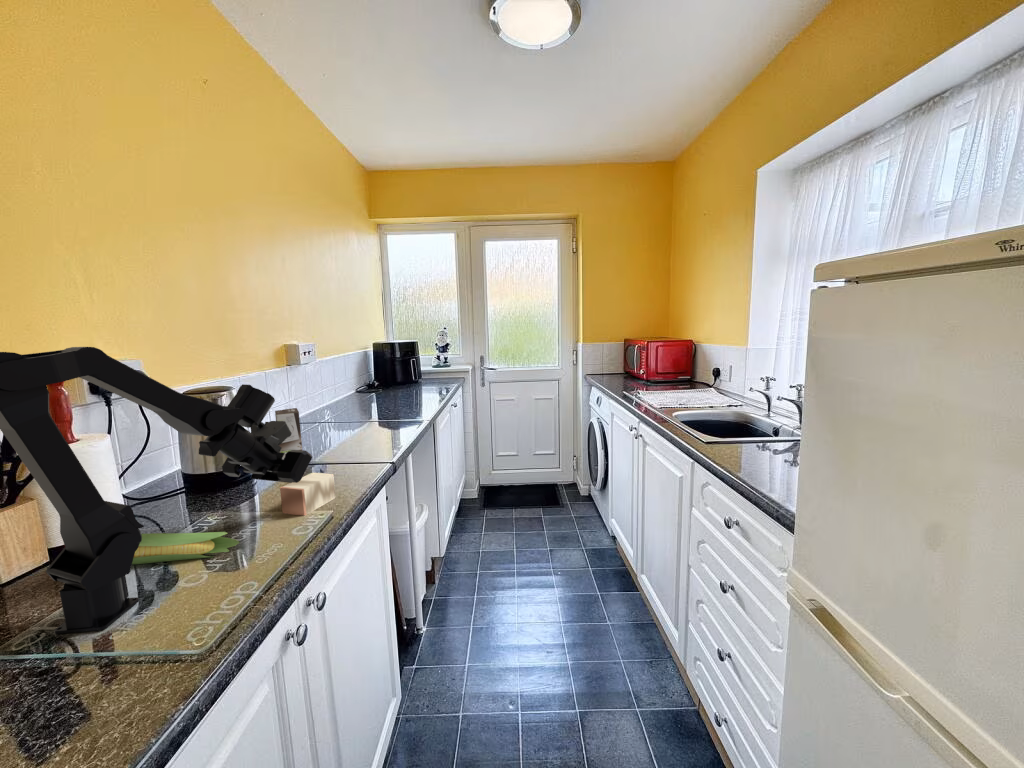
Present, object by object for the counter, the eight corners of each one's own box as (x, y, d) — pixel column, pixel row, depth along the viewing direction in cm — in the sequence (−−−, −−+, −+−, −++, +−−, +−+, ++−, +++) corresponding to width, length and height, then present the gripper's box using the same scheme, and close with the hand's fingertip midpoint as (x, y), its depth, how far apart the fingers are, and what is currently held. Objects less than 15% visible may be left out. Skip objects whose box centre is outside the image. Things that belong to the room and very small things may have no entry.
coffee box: (304, 462, 130) (299, 411, 128) (280, 466, 127) (275, 414, 125) (302, 455, 138) (297, 407, 136) (279, 459, 135) (274, 409, 133)
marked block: (301, 489, 92) (333, 474, 101) (279, 487, 93) (312, 472, 103) (304, 515, 92) (335, 497, 102) (282, 513, 94) (315, 495, 104)
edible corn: (127, 533, 78) (106, 538, 73) (242, 527, 80) (229, 532, 76) (123, 562, 77) (102, 569, 72) (240, 555, 79) (227, 562, 75)
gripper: (300, 412, 83) (342, 450, 95) (228, 410, 88) (276, 446, 100) (271, 463, 76) (320, 497, 88) (195, 457, 82) (251, 490, 94)
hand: (291, 480), depth 93 cm, fingers closed
